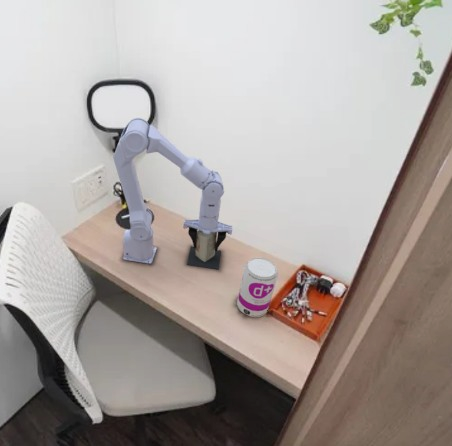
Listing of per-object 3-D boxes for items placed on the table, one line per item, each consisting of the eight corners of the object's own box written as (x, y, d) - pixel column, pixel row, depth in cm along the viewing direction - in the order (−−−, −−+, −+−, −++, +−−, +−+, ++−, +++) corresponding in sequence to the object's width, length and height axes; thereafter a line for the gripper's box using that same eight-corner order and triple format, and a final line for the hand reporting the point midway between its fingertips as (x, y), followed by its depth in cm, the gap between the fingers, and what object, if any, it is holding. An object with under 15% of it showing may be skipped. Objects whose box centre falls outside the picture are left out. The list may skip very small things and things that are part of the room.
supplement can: (268, 320, 89) (281, 280, 80) (236, 316, 90) (245, 276, 81) (266, 297, 95) (277, 258, 86) (236, 293, 96) (244, 254, 88)
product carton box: (205, 249, 112) (207, 224, 106) (215, 255, 109) (218, 231, 103) (194, 255, 109) (196, 231, 103) (204, 262, 106) (206, 237, 101)
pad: (186, 264, 107) (186, 264, 106) (190, 246, 114) (191, 246, 114) (218, 269, 104) (218, 269, 104) (220, 251, 111) (221, 250, 111)
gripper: (182, 217, 98) (180, 252, 106) (233, 223, 94) (227, 259, 102) (186, 204, 103) (184, 238, 111) (234, 209, 100) (229, 245, 108)
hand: (205, 247), depth 107 cm, fingers closed on product carton box, 6 cm apart
